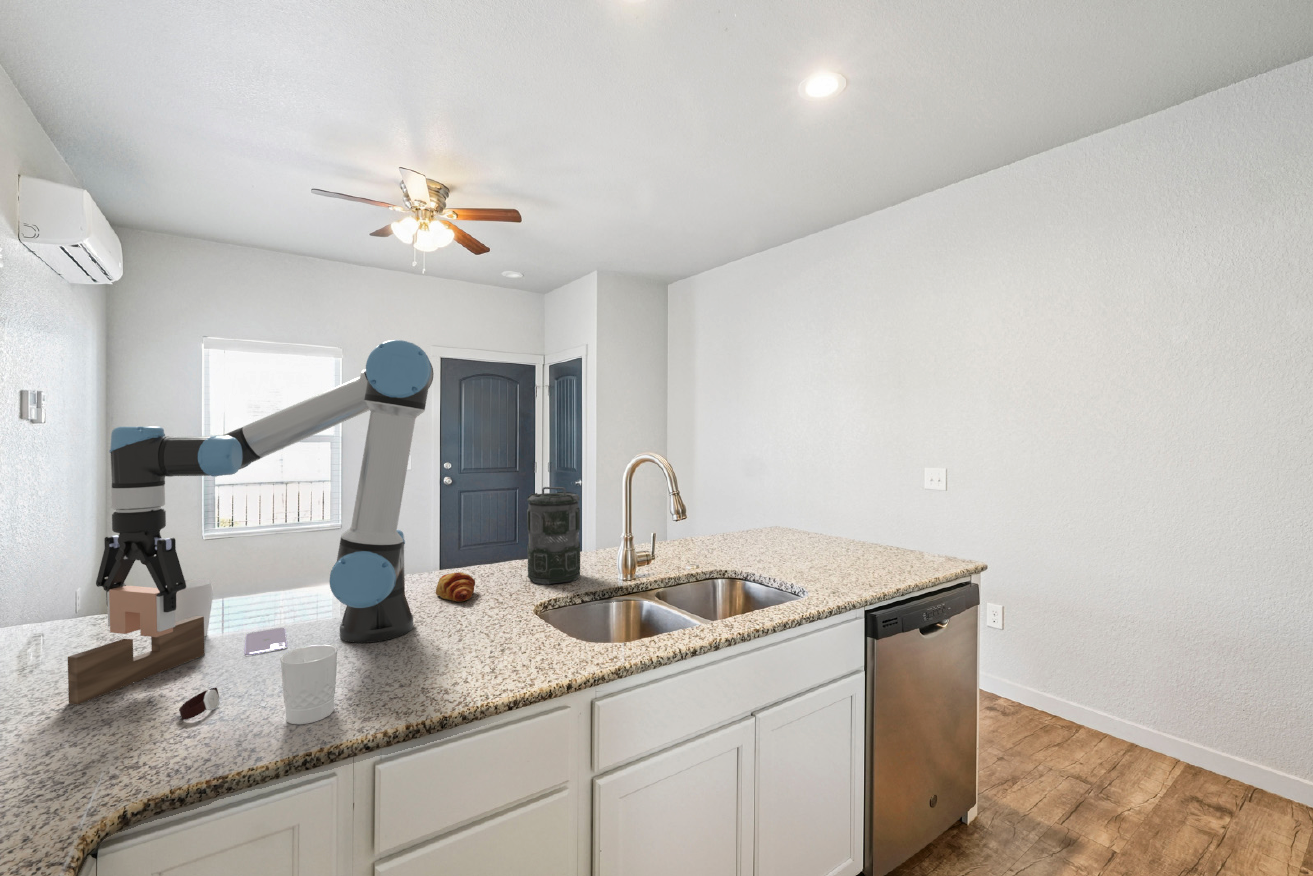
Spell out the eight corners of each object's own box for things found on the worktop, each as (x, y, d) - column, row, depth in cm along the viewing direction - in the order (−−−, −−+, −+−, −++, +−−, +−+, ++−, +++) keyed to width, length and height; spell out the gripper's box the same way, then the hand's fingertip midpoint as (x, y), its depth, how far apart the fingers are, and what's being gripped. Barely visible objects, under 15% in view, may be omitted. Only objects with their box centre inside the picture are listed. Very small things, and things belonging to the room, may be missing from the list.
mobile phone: (285, 625, 137) (288, 645, 124) (285, 630, 137) (288, 650, 124) (245, 632, 133) (244, 653, 120) (245, 636, 133) (244, 658, 120)
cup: (185, 647, 125) (184, 591, 125) (150, 644, 127) (149, 588, 127) (224, 632, 134) (223, 580, 134) (191, 629, 136) (190, 578, 136)
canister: (519, 584, 174) (518, 489, 173) (538, 571, 190) (538, 484, 189) (571, 586, 171) (570, 490, 171) (586, 573, 187) (586, 484, 186)
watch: (204, 721, 94) (203, 698, 94) (170, 724, 93) (169, 702, 93) (227, 699, 102) (227, 678, 102) (196, 702, 101) (195, 681, 101)
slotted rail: (204, 655, 121) (203, 616, 121) (77, 705, 100) (76, 657, 99) (196, 654, 121) (196, 615, 121) (68, 703, 100) (67, 656, 100)
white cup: (297, 704, 100) (296, 645, 99) (346, 702, 100) (345, 643, 100) (271, 728, 92) (270, 664, 92) (324, 725, 92) (323, 662, 92)
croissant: (436, 600, 171) (422, 577, 169) (467, 579, 175) (454, 557, 173) (455, 618, 153) (440, 593, 151) (489, 594, 158) (475, 570, 156)
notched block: (173, 631, 111) (172, 589, 110) (156, 637, 108) (155, 593, 107) (127, 627, 113) (126, 585, 113) (110, 632, 110) (109, 589, 110)
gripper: (209, 508, 111) (211, 624, 111) (113, 504, 116) (116, 615, 117) (167, 514, 103) (170, 638, 104) (67, 510, 109) (70, 628, 109)
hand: (141, 626), depth 110 cm, fingers closed on notched block, 11 cm apart
